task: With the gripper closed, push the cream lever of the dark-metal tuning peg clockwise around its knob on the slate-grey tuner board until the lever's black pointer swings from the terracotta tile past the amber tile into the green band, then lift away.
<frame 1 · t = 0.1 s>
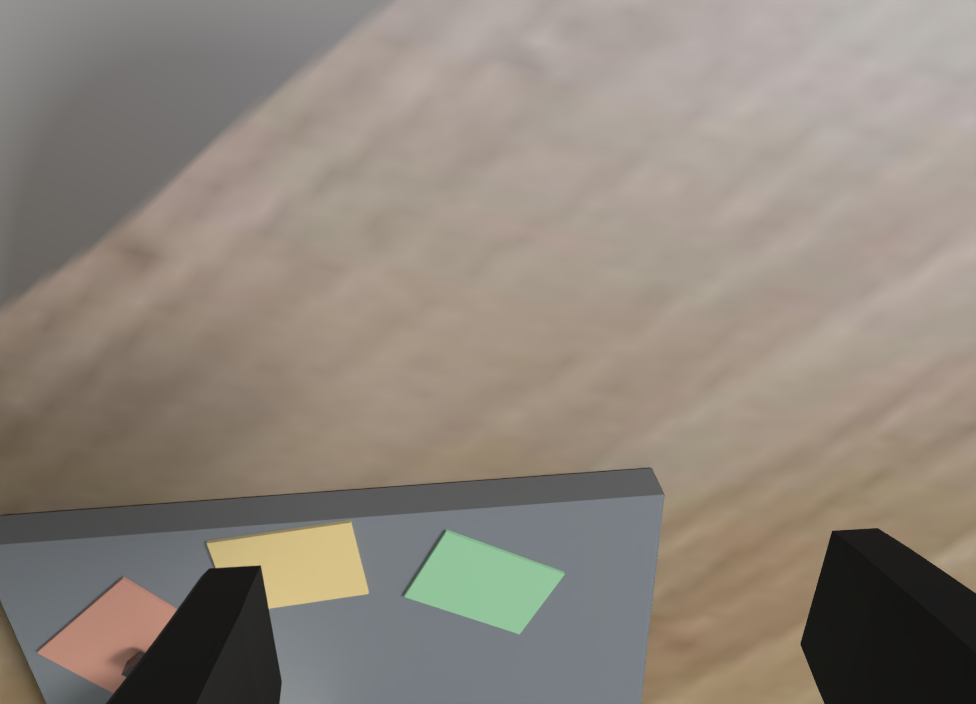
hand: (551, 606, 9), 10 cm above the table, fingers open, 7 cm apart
tuner board: (362, 675, 24), on the table
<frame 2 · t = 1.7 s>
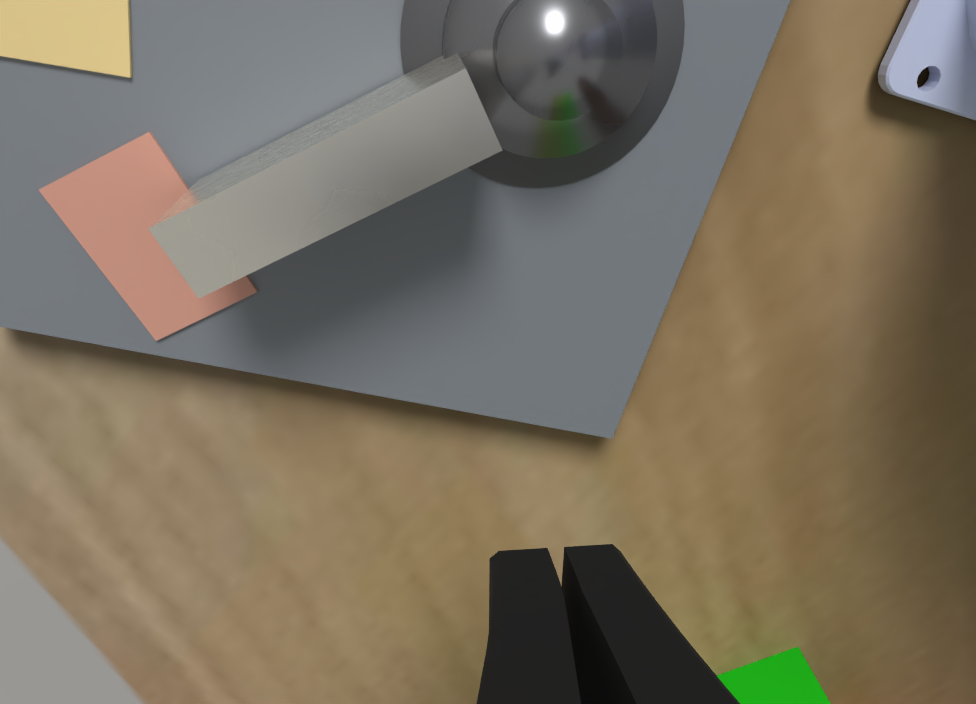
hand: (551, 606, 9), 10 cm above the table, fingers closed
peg: (395, 135, 13), point 3 cm above the table, hinge at 40.0°
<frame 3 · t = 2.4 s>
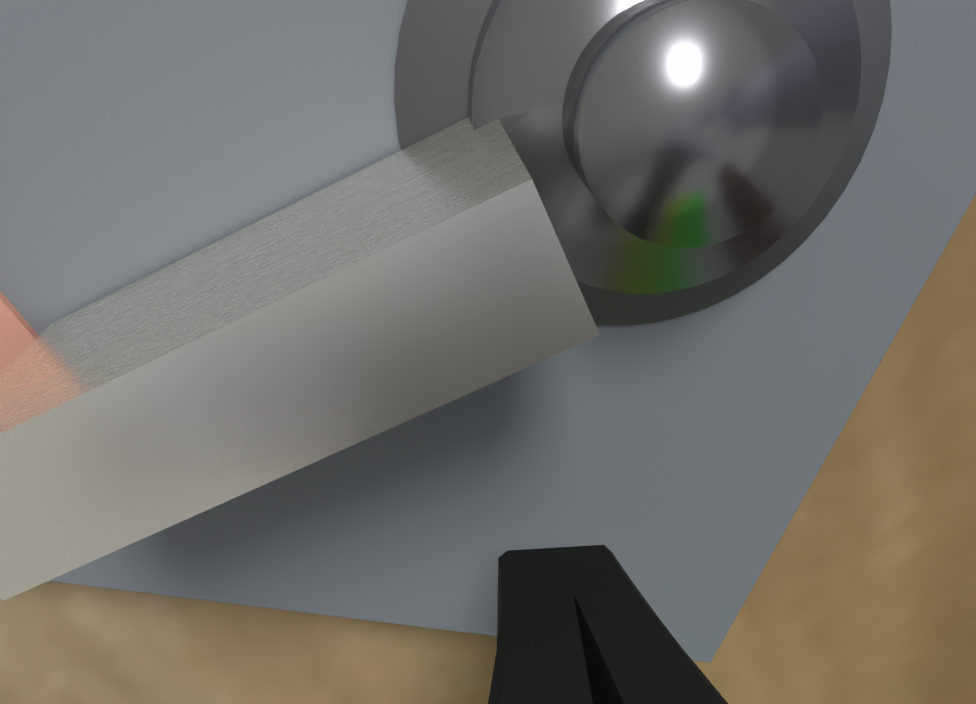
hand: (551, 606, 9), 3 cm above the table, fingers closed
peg: (385, 274, 7), point 3 cm above the table, hinge at 40.0°
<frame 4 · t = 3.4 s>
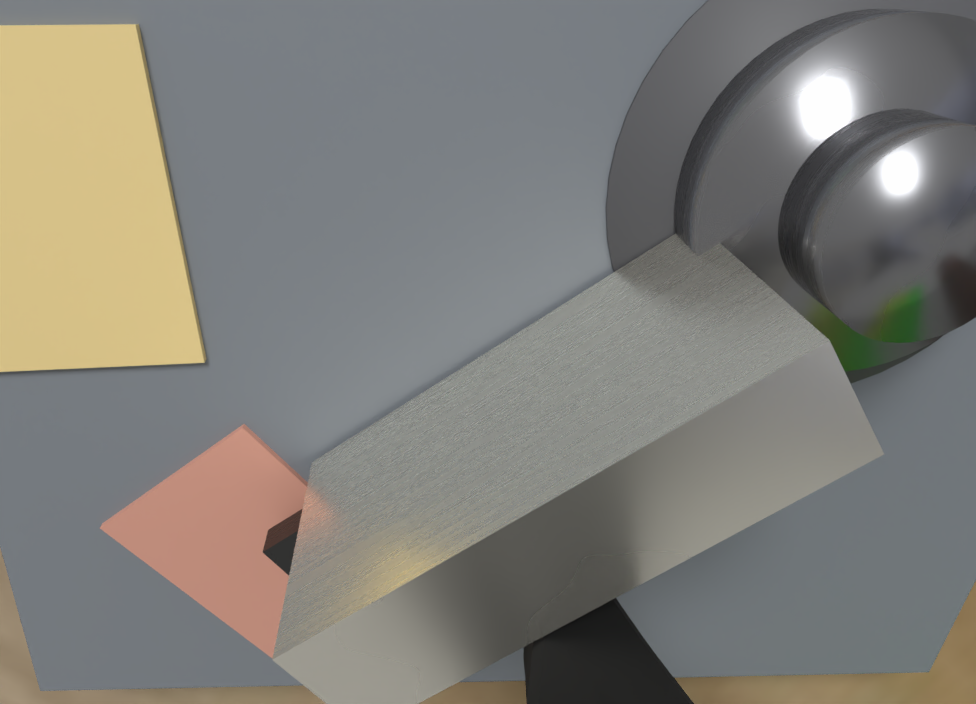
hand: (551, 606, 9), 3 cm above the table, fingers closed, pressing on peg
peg: (640, 400, 8), point 3 cm above the table, hinge at 38.2°, touching gripper
tuner board: (577, 113, 9), on the table
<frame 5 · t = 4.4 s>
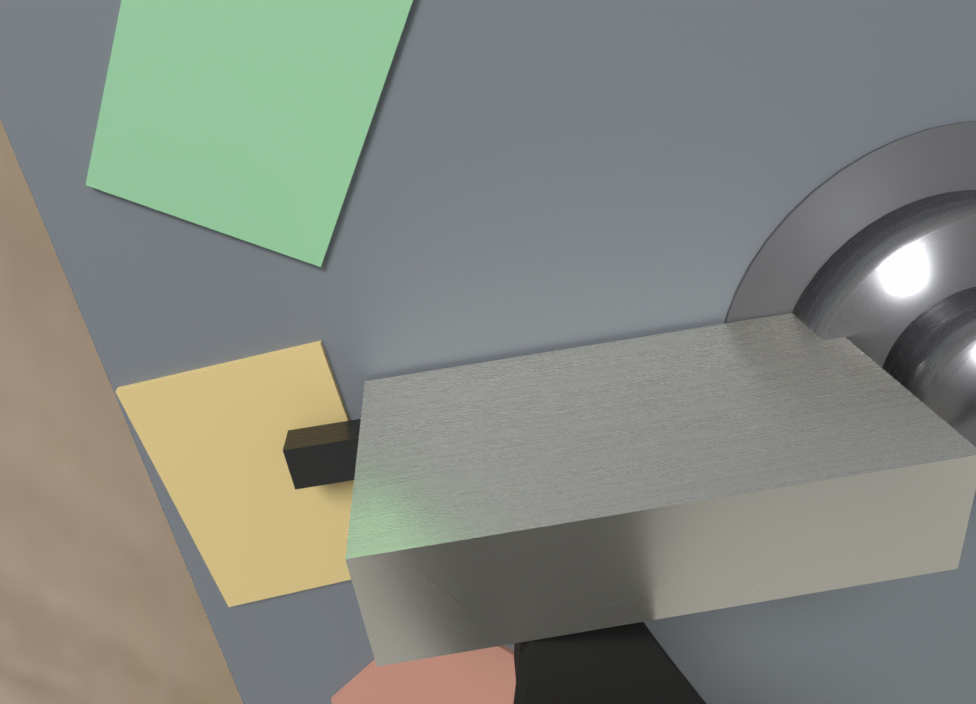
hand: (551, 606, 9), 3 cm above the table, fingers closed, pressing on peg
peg: (735, 445, 8), point 3 cm above the table, hinge at 0.6°, touching gripper
tuner board: (674, 298, 11), on the table
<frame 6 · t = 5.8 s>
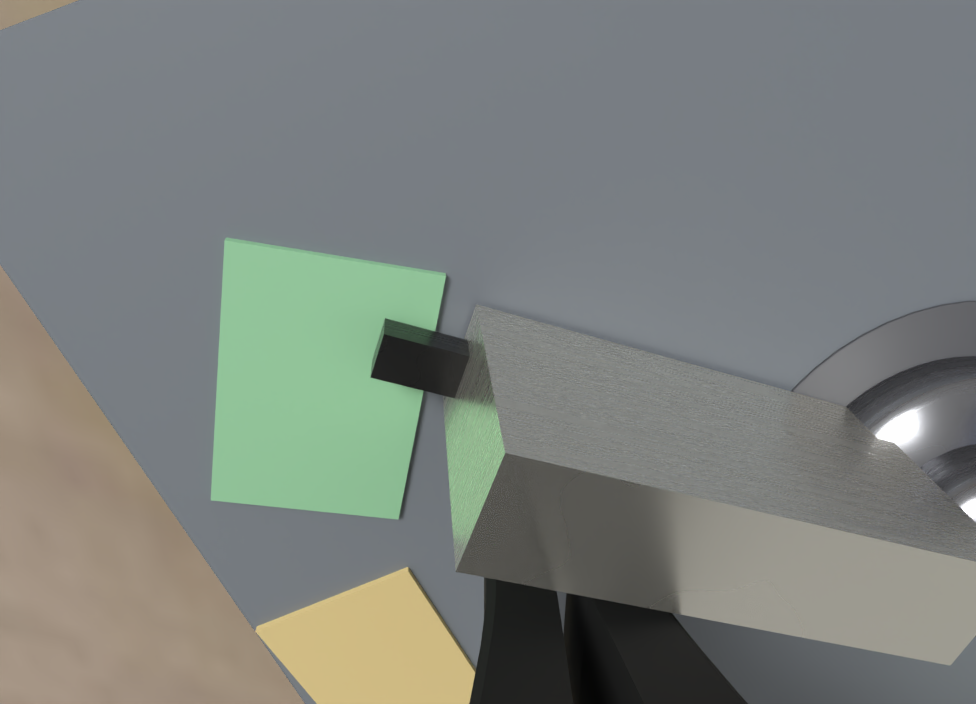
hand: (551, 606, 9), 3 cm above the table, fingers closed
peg: (792, 497, 9), point 3 cm above the table, hinge at -37.0°, touching gripper
tuner board: (697, 458, 12), on the table
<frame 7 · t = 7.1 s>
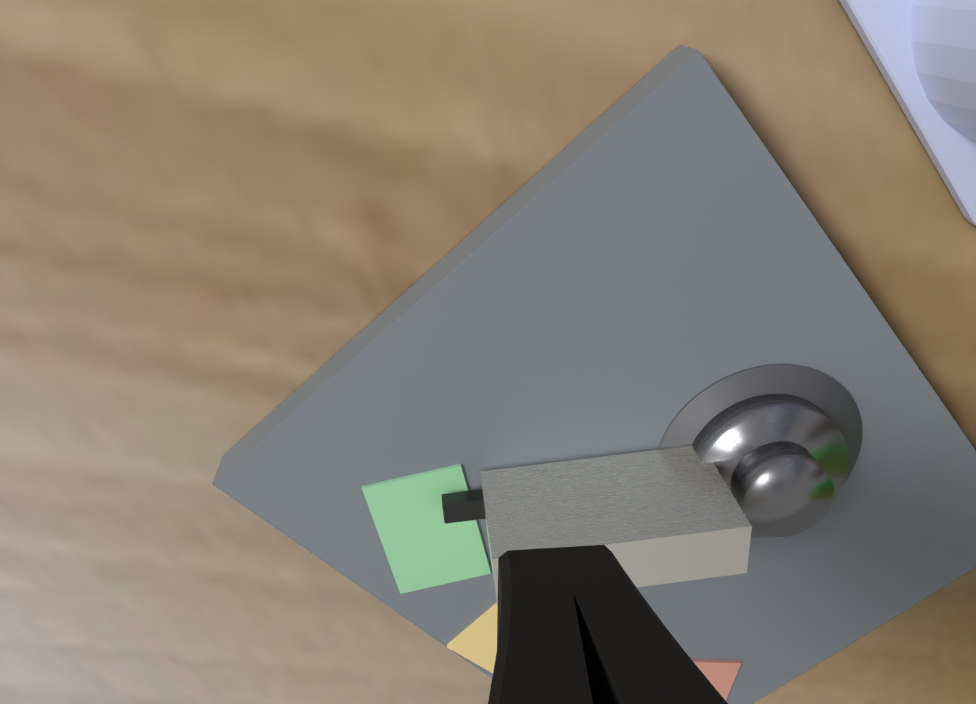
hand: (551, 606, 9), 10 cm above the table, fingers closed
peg: (657, 512, 18), point 3 cm above the table, hinge at -37.1°
tuner board: (645, 483, 21), on the table
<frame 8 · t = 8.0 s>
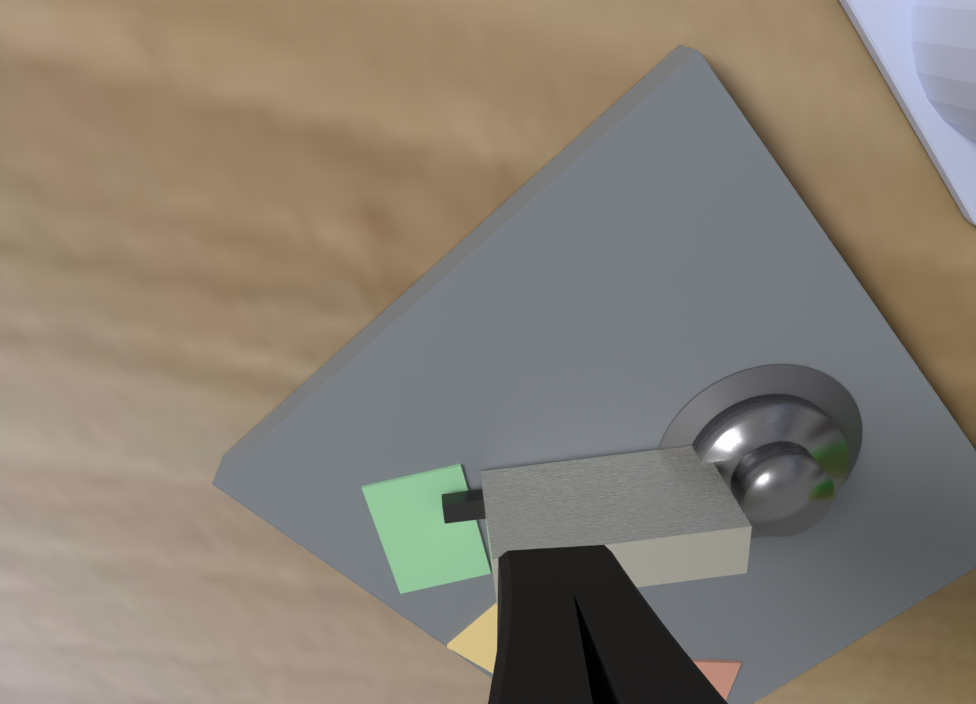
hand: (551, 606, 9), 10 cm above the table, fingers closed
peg: (657, 512, 18), point 3 cm above the table, hinge at -37.1°
tuner board: (645, 483, 21), on the table
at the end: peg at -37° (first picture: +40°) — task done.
